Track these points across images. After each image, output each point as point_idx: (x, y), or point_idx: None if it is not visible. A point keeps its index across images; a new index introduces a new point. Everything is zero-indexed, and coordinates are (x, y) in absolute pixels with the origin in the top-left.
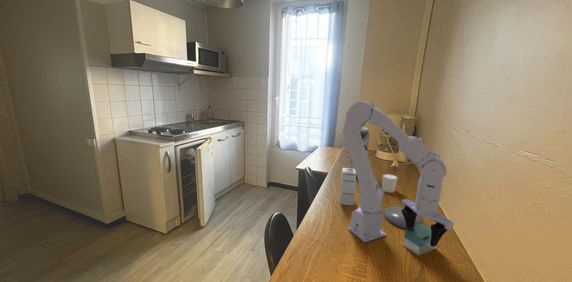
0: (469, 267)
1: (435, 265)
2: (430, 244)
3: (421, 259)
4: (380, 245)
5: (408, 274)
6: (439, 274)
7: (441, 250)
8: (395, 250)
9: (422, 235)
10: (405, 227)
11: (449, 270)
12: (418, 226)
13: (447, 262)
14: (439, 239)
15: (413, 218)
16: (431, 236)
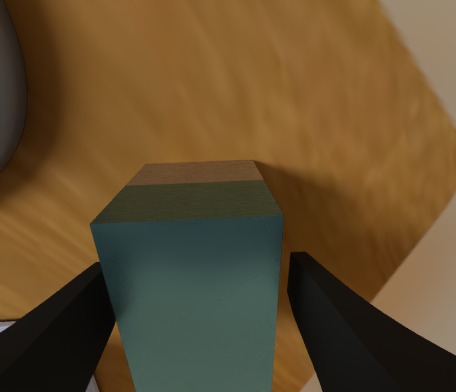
0: (434, 133)
1: None
2: (291, 301)
3: None
4: None
5: (297, 378)
6: None
7: (279, 141)
8: None
9: (250, 369)
10: (2, 160)
11: (374, 246)
12: (136, 311)
13: (347, 206)
14: (336, 281)
15: (38, 386)
16: (320, 380)
